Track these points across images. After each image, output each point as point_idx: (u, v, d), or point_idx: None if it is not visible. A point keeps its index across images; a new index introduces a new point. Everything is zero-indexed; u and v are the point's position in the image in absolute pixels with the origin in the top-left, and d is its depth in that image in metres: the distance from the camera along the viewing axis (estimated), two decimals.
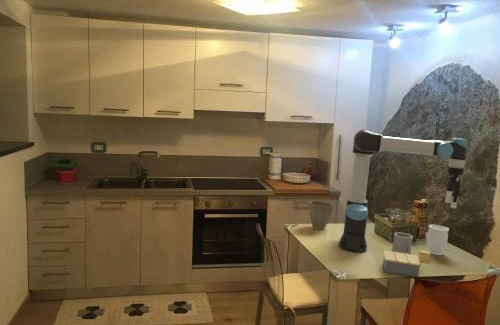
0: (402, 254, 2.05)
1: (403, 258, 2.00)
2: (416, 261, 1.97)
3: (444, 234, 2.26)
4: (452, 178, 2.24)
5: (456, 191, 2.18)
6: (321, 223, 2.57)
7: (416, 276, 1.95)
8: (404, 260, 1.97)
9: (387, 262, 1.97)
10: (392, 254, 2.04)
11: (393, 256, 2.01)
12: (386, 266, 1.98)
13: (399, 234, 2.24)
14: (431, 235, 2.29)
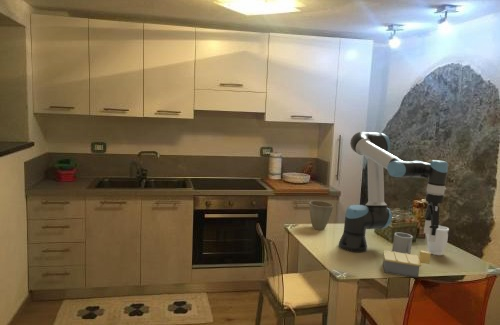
0: (402, 254, 2.05)
1: (403, 258, 2.00)
2: (416, 261, 1.97)
3: (444, 234, 2.26)
4: (430, 206, 1.93)
5: (434, 223, 1.87)
6: (321, 223, 2.57)
7: (416, 276, 1.95)
8: (404, 260, 1.97)
9: (387, 262, 1.97)
10: (392, 254, 2.04)
11: (393, 256, 2.01)
12: (386, 266, 1.98)
13: (399, 234, 2.24)
14: None
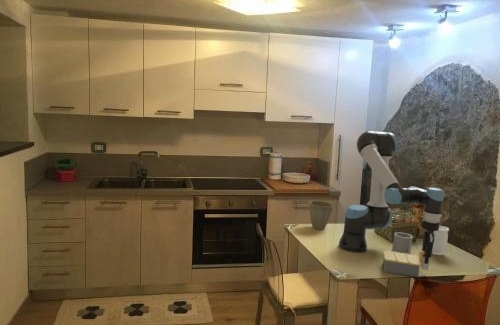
0: (402, 254, 2.05)
1: (403, 258, 2.00)
2: (416, 261, 1.97)
3: (444, 234, 2.26)
4: (426, 235, 1.95)
5: (428, 253, 1.93)
6: (321, 223, 2.57)
7: (416, 276, 1.95)
8: (404, 260, 1.97)
9: (387, 262, 1.97)
10: (392, 254, 2.04)
11: (393, 256, 2.02)
12: (386, 266, 1.98)
13: (399, 234, 2.24)
14: None
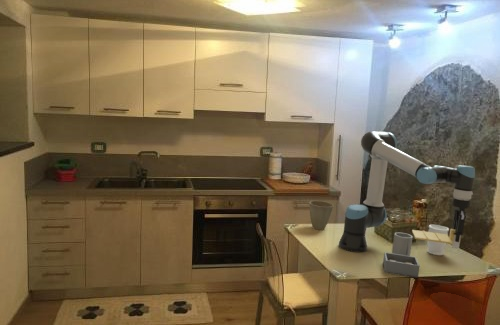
0: (431, 233, 2.04)
1: (433, 236, 1.99)
2: (447, 239, 1.96)
3: None
4: (457, 212, 1.94)
5: (459, 230, 1.92)
6: (321, 223, 2.57)
7: (416, 276, 1.95)
8: (434, 238, 1.96)
9: (387, 262, 1.97)
10: (421, 233, 2.03)
11: (423, 235, 2.00)
12: (386, 266, 1.98)
13: (399, 234, 2.24)
14: None
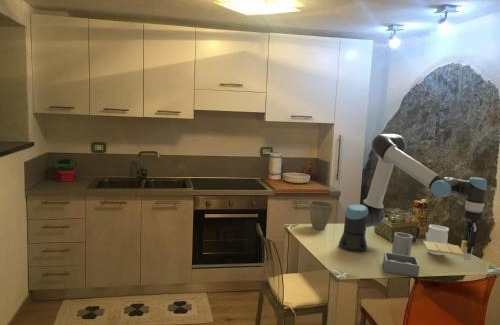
0: (443, 244, 2.05)
1: (445, 248, 1.99)
2: (459, 251, 1.97)
3: (444, 234, 2.26)
4: (469, 224, 1.95)
5: (471, 242, 1.93)
6: (321, 223, 2.57)
7: (416, 276, 1.95)
8: (446, 250, 1.97)
9: (387, 262, 1.97)
10: (433, 244, 2.04)
11: (435, 246, 2.01)
12: (386, 266, 1.98)
13: (399, 234, 2.24)
14: (431, 235, 2.29)
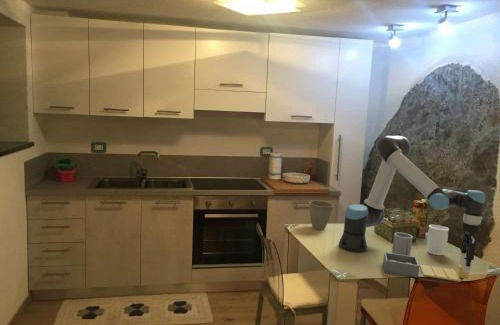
0: (439, 269, 2.07)
1: (441, 273, 2.01)
2: (455, 276, 1.99)
3: (444, 234, 2.26)
4: (467, 236, 1.96)
5: (470, 255, 1.92)
6: (321, 223, 2.57)
7: (416, 276, 1.95)
8: (443, 275, 1.99)
9: (387, 262, 1.97)
10: (429, 269, 2.06)
11: (431, 271, 2.03)
12: (386, 266, 1.98)
13: (399, 234, 2.24)
14: (431, 235, 2.29)
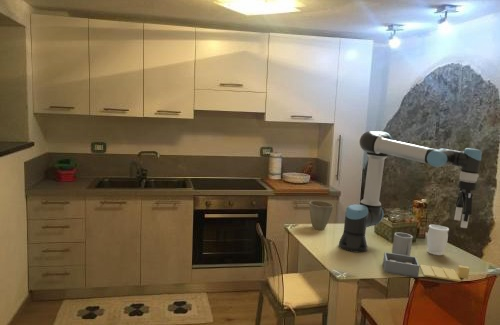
0: (439, 268, 2.07)
1: (441, 273, 2.01)
2: (455, 276, 1.99)
3: (444, 234, 2.26)
4: (463, 193, 1.98)
5: (467, 209, 1.91)
6: (321, 223, 2.57)
7: (416, 276, 1.95)
8: (443, 275, 1.99)
9: (387, 262, 1.97)
10: (429, 269, 2.06)
11: (431, 271, 2.03)
12: (386, 266, 1.98)
13: (399, 234, 2.24)
14: (431, 235, 2.29)
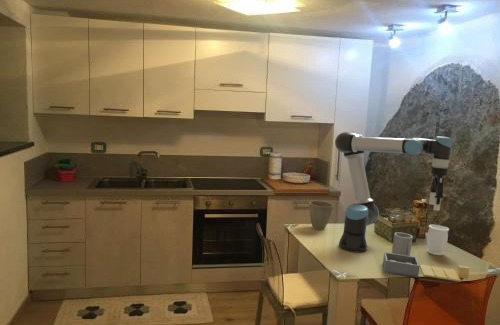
0: (439, 268, 2.07)
1: (441, 273, 2.01)
2: (455, 276, 1.99)
3: (444, 234, 2.26)
4: (435, 179, 2.12)
5: (439, 192, 2.05)
6: (321, 223, 2.57)
7: (416, 276, 1.95)
8: (443, 275, 1.99)
9: (387, 262, 1.97)
10: (429, 269, 2.06)
11: (431, 271, 2.03)
12: (386, 266, 1.98)
13: (399, 234, 2.24)
14: (431, 235, 2.29)
